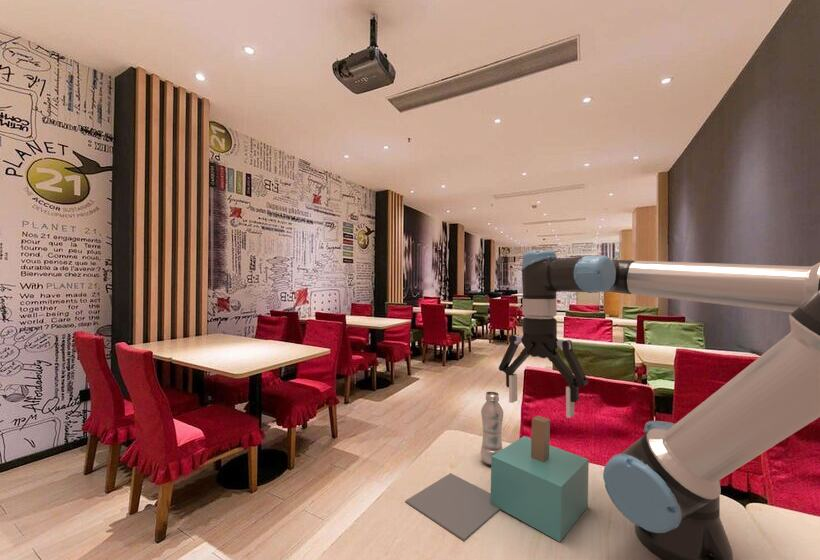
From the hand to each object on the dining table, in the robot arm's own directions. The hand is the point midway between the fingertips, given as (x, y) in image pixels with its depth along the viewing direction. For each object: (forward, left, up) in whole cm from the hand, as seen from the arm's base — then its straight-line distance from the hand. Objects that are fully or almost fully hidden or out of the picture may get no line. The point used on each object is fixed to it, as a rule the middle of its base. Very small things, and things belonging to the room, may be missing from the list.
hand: (540, 408), depth 79 cm
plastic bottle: (+18, -9, -23) cm, 31 cm away
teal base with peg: (0, 0, -23) cm, 23 cm away
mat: (+14, +13, -23) cm, 30 cm away
